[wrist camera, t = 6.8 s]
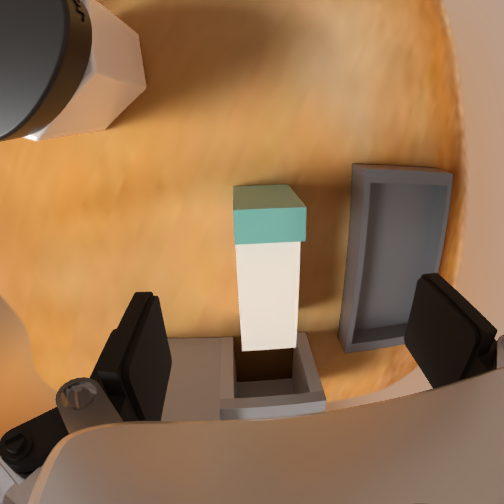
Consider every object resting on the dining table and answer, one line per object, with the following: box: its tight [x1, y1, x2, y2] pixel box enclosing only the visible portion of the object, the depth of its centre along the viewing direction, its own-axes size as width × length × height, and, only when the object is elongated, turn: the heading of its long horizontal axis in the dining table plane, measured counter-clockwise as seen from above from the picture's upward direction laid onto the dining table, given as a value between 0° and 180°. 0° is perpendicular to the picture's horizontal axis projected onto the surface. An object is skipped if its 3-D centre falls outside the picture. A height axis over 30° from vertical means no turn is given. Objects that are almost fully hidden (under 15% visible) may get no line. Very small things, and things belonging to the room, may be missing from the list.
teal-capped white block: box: [233, 184, 307, 351], centre depth 23 cm, size 11×4×6 cm, turn 2°
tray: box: [337, 164, 453, 353], centre depth 25 cm, size 16×8×2 cm, turn 2°
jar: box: [0, 0, 147, 141], centre depth 14 cm, size 9×8×12 cm
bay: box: [161, 332, 326, 421], centre depth 25 cm, size 7×16×10 cm, turn 92°
